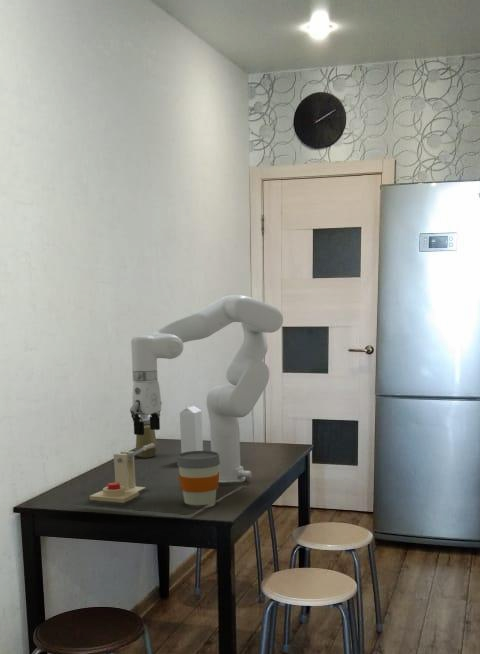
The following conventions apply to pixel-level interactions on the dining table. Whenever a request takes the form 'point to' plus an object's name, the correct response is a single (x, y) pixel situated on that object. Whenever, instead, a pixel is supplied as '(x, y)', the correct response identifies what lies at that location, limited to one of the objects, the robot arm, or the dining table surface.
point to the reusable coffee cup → (199, 477)
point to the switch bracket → (125, 471)
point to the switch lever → (141, 450)
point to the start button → (113, 486)
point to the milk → (191, 429)
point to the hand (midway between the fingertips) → (147, 432)
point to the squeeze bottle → (146, 439)
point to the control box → (114, 495)
